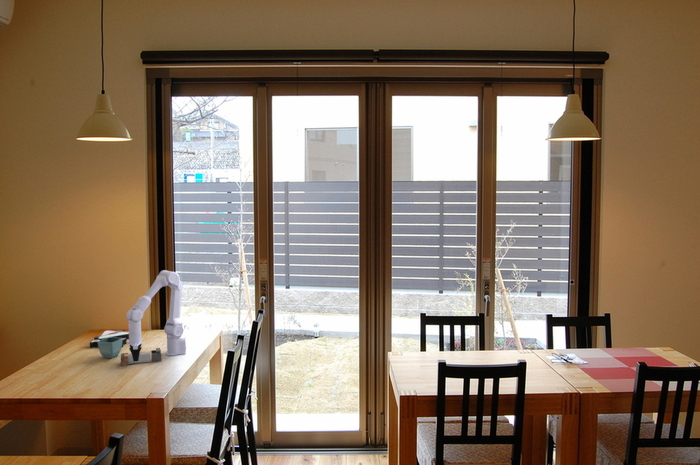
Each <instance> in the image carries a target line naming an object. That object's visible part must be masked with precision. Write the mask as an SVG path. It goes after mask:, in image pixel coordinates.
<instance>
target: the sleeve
mask: <svg viewBox="0 0 700 465" xmlns="http://www.w3.org/2000/svg"><path fill="white" fill-rule="evenodd" d="M161 351H162V350H161V347H156V348H155V349H154V350H150V359H151V363H159V362H162V352H161Z"/></svg>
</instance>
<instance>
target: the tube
mask: <svg viewBox="0 0 700 465" xmlns="http://www.w3.org/2000/svg"><path fill="white" fill-rule="evenodd" d="M125 356H128V365H130V364H140V363H149V362H151V351H143V352H142V351H140V354H139V360H138V361H133V357H132V353H131V352H130V353H128V354H124V357H125Z"/></svg>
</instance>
